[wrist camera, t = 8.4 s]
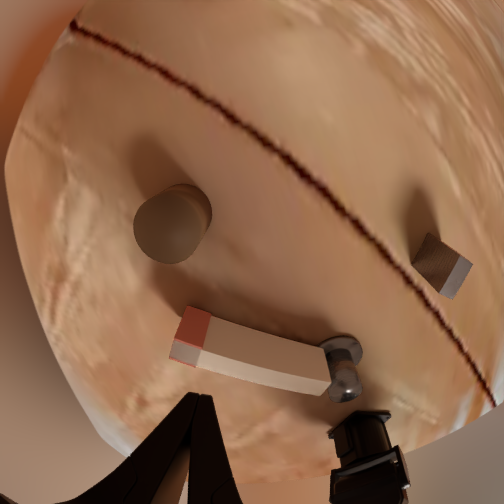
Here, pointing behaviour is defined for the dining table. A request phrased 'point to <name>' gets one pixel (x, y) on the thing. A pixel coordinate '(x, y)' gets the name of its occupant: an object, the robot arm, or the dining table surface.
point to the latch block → (441, 266)
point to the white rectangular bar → (249, 354)
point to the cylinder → (172, 223)
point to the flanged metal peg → (343, 367)
